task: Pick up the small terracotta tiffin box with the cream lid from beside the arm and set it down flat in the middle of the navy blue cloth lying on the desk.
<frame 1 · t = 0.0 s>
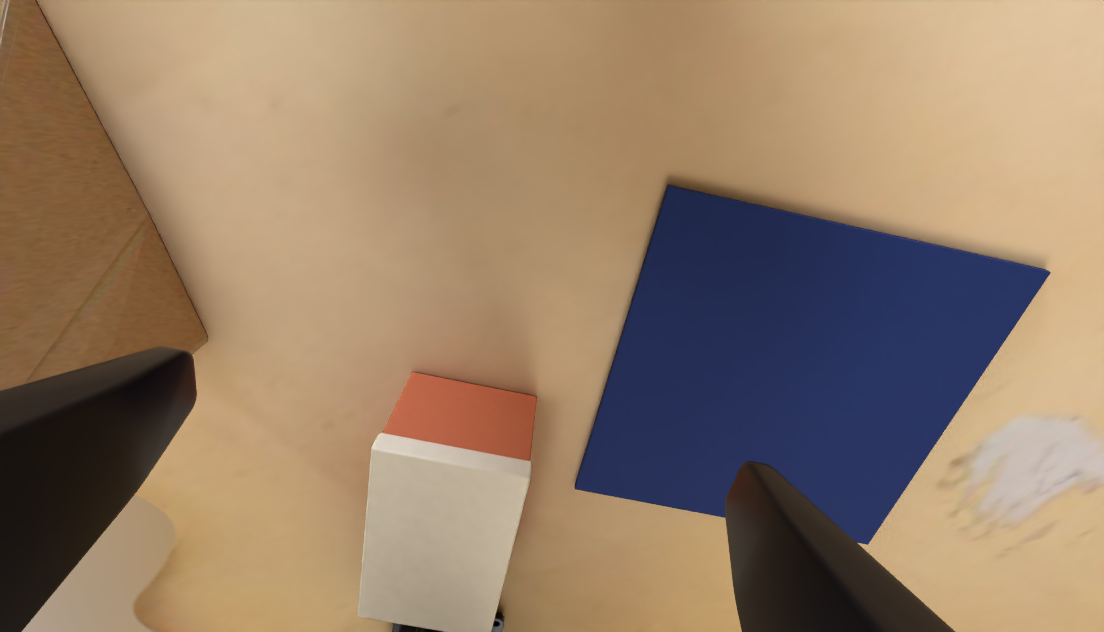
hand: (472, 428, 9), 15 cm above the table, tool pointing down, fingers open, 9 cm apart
tiffin box: (460, 463, 28), on the table
blue cloth: (781, 390, 26), on the table
sandwich container: (43, 193, 23), on the table
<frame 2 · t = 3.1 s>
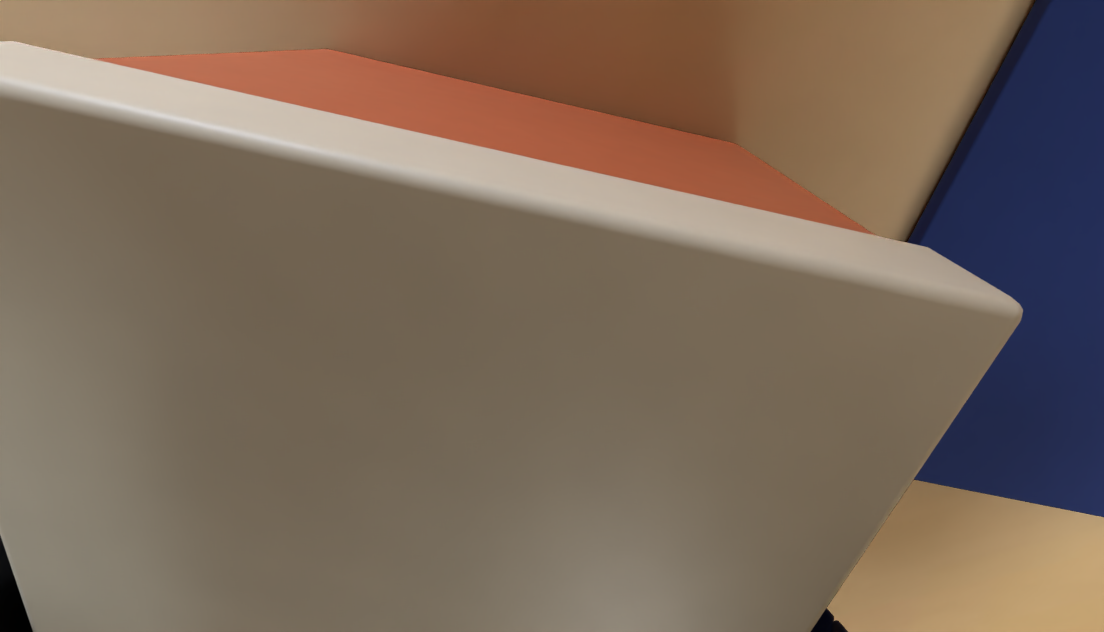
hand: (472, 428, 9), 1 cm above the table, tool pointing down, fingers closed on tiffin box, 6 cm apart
tiffin box: (482, 385, 10), on the table, touching gripper
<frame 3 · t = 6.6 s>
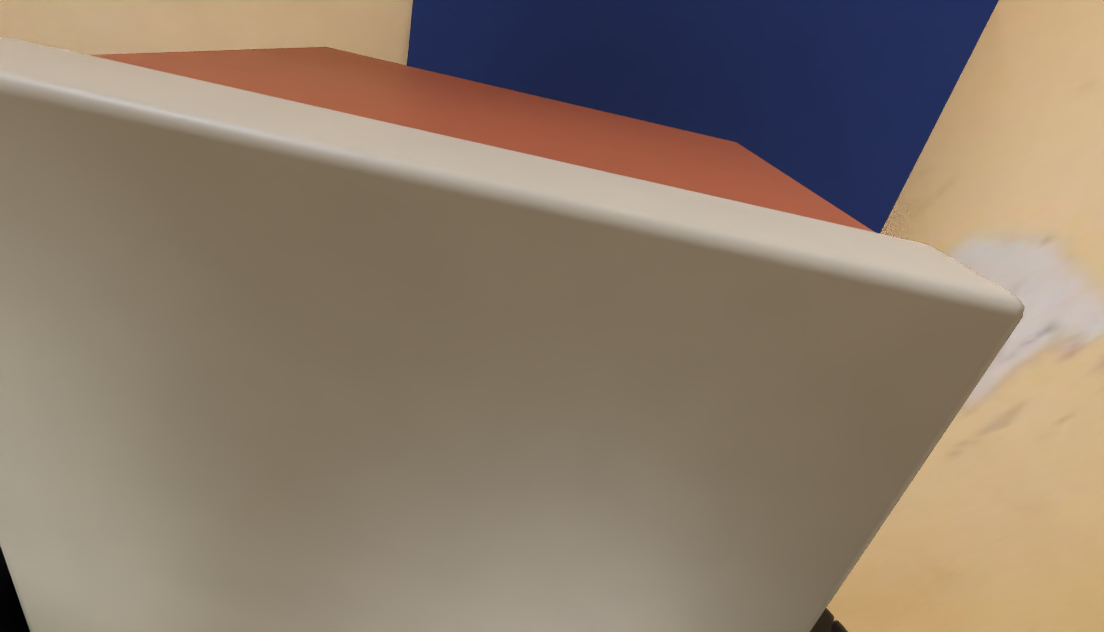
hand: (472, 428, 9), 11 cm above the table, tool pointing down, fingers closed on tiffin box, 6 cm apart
tiffin box: (482, 384, 10), point 10 cm above the table, touching gripper
blue cloth: (641, 196, 18), on the table
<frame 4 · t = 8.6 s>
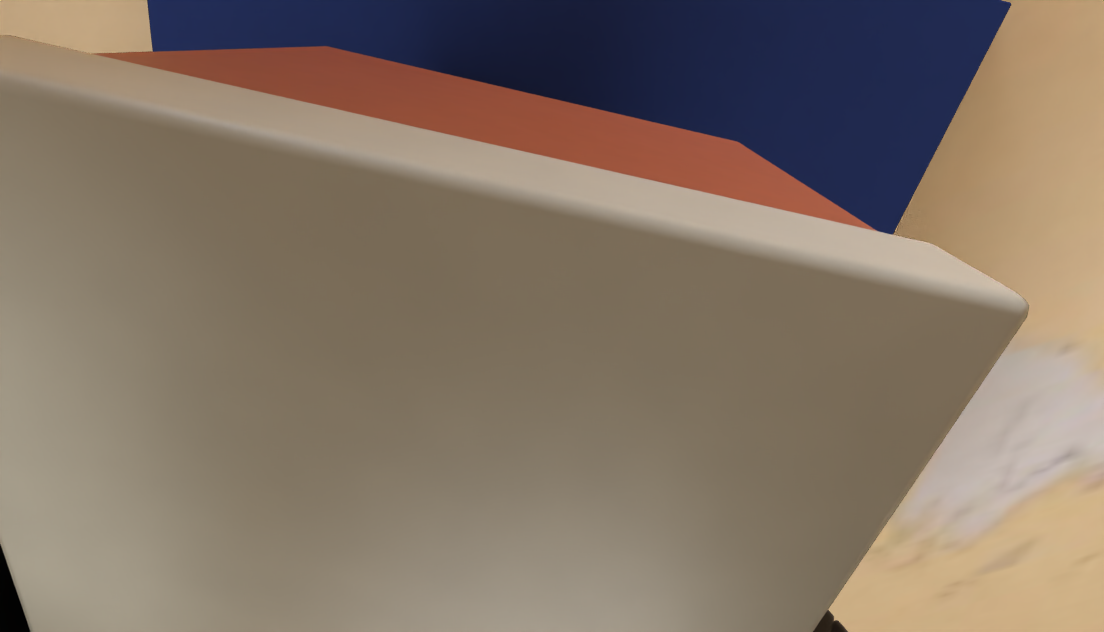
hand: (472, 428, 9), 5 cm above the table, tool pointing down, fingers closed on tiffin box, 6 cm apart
tiffin box: (482, 384, 10), point 4 cm above the table, touching gripper
blue cloth: (511, 293, 14), on the table
when the fingers open (1 cm above the table, at t = 10.2 s): tiffin box stays where it is, resting on blue cloth.
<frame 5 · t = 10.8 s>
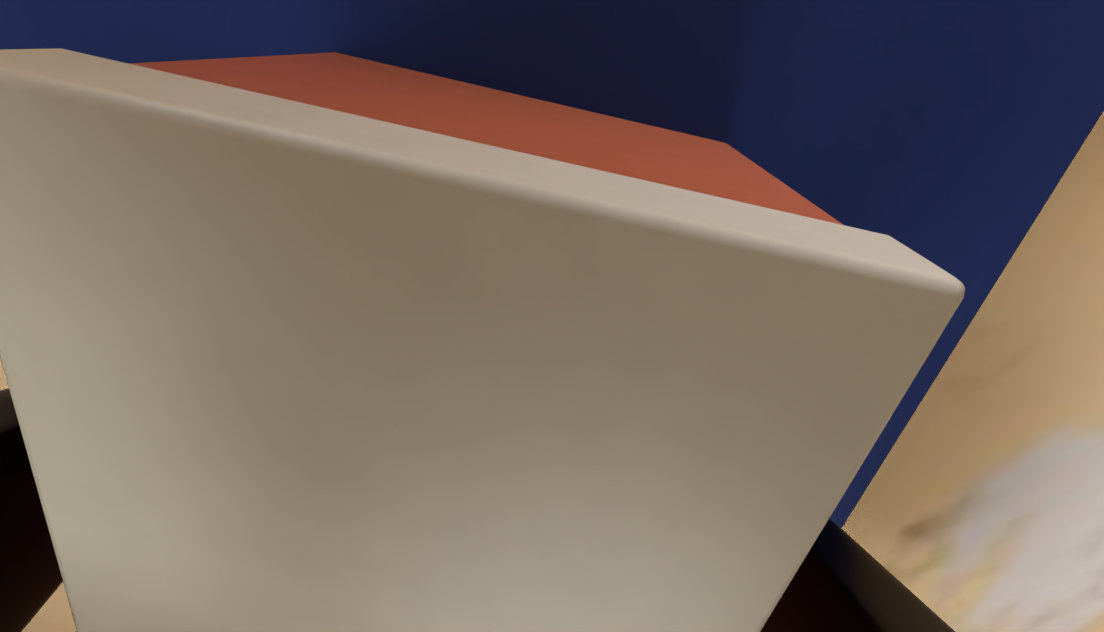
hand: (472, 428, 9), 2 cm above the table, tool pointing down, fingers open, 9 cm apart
tiffin box: (483, 375, 10), resting on blue cloth
blue cloth: (489, 367, 11), on the table
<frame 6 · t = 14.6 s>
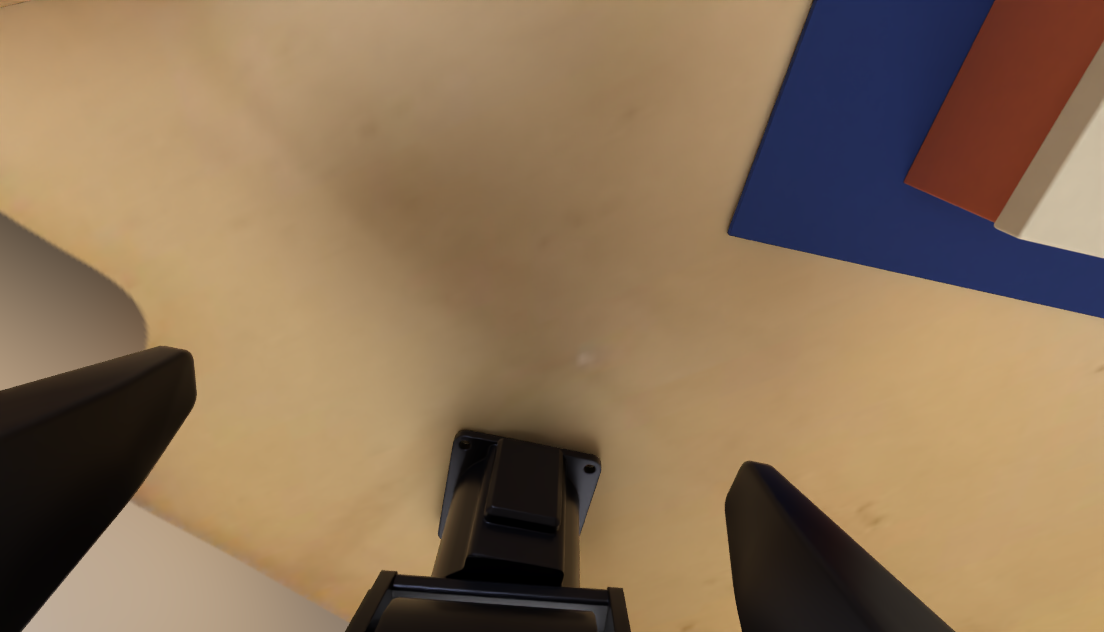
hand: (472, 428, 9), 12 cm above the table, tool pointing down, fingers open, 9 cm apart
tiffin box: (1080, 39, 16), resting on blue cloth
blue cloth: (1075, 39, 17), on the table
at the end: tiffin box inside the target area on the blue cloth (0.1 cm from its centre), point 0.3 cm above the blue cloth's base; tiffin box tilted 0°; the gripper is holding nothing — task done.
